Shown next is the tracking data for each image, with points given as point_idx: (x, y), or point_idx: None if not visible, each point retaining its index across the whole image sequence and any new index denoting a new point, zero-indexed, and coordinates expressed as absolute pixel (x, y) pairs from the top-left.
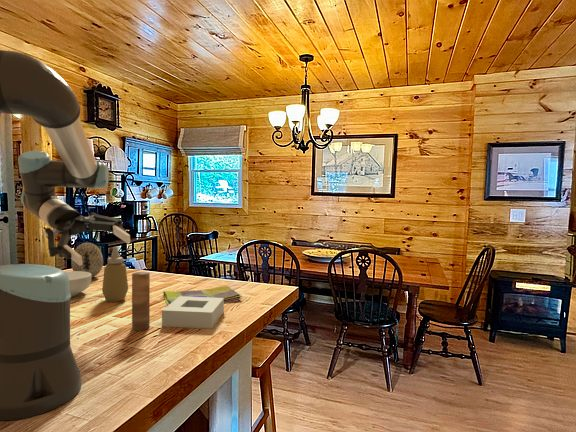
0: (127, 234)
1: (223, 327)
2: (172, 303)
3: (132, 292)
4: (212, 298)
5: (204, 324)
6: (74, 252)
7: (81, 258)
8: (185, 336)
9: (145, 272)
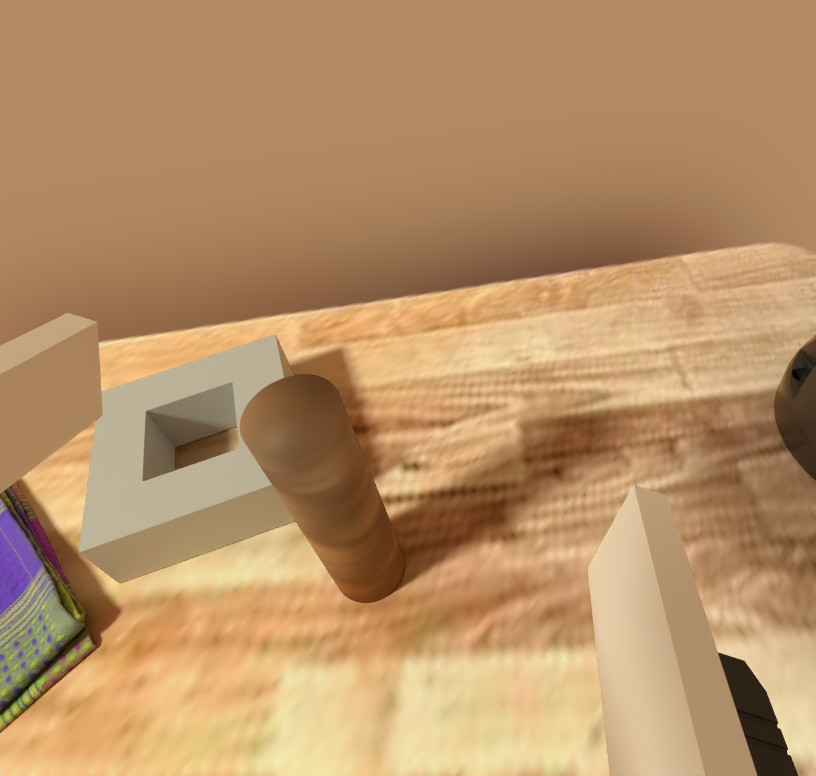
0: (62, 326)
1: None
2: (201, 501)
3: (360, 490)
4: (107, 420)
5: None
6: (672, 567)
7: (621, 512)
8: (378, 393)
9: (255, 414)
